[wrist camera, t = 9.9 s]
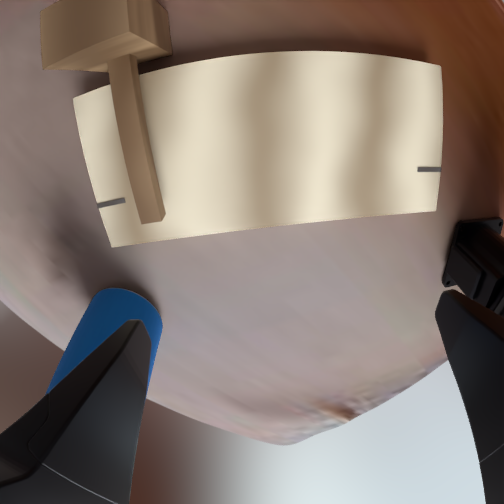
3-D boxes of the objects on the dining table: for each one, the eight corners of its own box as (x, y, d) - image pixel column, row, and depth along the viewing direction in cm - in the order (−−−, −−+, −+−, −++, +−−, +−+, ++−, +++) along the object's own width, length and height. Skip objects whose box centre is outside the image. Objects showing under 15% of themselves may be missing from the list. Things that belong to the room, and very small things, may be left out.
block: (167, 12, 12) (125, -30, 5) (196, 195, 18) (173, 253, 12) (105, 31, 12) (40, 11, 6) (137, 205, 18) (93, 263, 12)
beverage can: (117, 341, 24) (81, 453, 14) (81, 289, 21) (19, 406, 11) (176, 333, 24) (153, 464, 13) (143, 274, 21) (89, 418, 10)
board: (427, 66, 13) (441, 66, 12) (424, 202, 18) (436, 211, 17) (85, 97, 14) (72, 98, 12) (120, 236, 19) (111, 248, 17)
